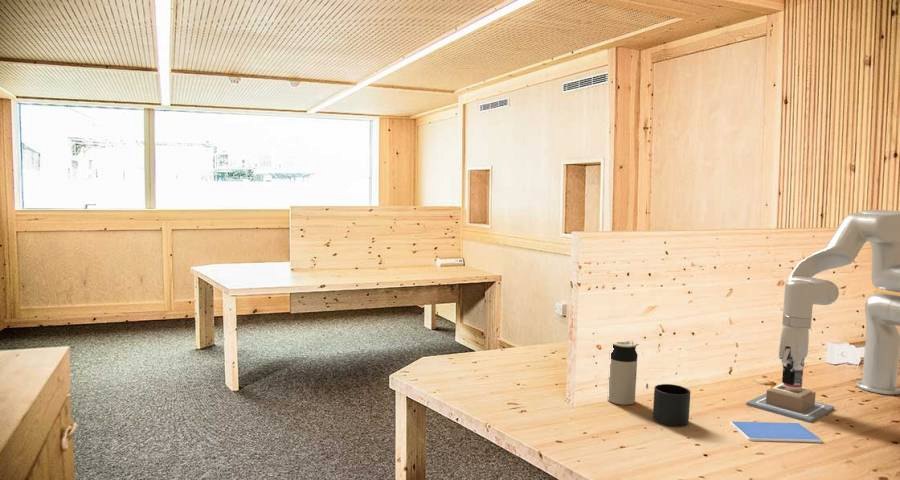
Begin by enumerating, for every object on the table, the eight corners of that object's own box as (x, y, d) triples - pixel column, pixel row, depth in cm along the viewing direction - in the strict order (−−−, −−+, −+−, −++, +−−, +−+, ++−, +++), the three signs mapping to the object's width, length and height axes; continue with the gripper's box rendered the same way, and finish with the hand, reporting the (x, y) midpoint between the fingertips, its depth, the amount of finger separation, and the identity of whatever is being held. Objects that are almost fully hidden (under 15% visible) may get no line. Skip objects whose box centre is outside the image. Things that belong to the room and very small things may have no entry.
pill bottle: (804, 390, 192) (806, 360, 192) (785, 388, 193) (787, 359, 193) (798, 384, 198) (800, 356, 197) (779, 383, 199) (782, 354, 198)
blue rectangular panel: (748, 443, 169) (749, 438, 169) (728, 424, 182) (728, 420, 181) (823, 445, 169) (824, 440, 169) (798, 426, 181) (798, 422, 181)
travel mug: (605, 403, 195) (608, 343, 193) (609, 395, 202) (612, 338, 201) (633, 407, 192) (636, 347, 190) (636, 399, 199) (639, 341, 198)
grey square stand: (772, 393, 209) (773, 375, 208) (834, 409, 195) (835, 390, 195) (746, 404, 197) (747, 386, 196) (810, 422, 183) (812, 403, 183)
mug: (678, 412, 189) (680, 381, 188) (693, 427, 177) (695, 395, 176) (645, 411, 189) (647, 380, 188) (659, 427, 177) (660, 394, 176)
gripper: (795, 316, 202) (790, 373, 204) (771, 323, 191) (766, 384, 192) (821, 320, 196) (816, 379, 198) (798, 328, 185) (793, 390, 187)
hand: (792, 381), depth 195 cm, fingers closed on pill bottle, 5 cm apart
